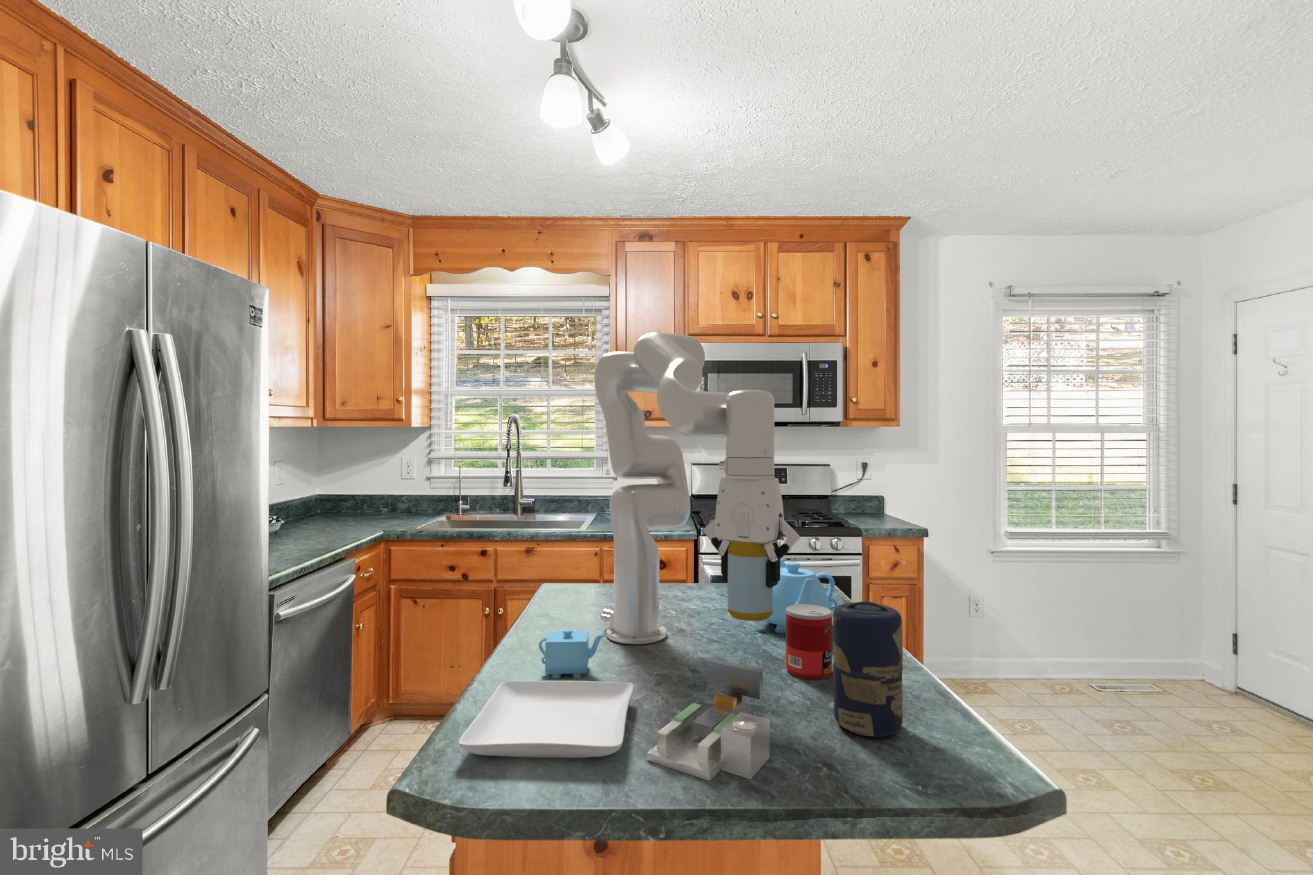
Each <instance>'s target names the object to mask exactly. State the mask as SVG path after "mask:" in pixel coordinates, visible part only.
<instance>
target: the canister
mask: <svg viewBox="0 0 1313 875" xmlns="http://www.w3.org/2000/svg"><path fill="white" fill-rule="evenodd" d="M832 614H833V615H832V652H833V661H832V670H833V671H832V672H833V676H832V677H833V678H832V679H833V680H832V681H833V683H832V684H833V685H832V686H833V716H834V719H835V720H836V722H837V723H838V724H839V725H840V726H841V727H842V728H844V729H846V730H848V731H850V732H851V733H854V734H857V735H861V736H865V737H866V736H867V737H874V738H875V737H886V736H891V735H894V734H895V733H897V732H899V731H900V730H901V727H902V726H903V712H904V711H903V709H904V708H903V671H904V668H903V667H904V666H903V665H904V664H903V659H904V658H903V653H904V652H903V650H904V649H903V644H904V643H903V620H902V618H903V617H902V616H901V613H900V612H899V611H898V610H897V609H895V608H892V606H888V605H886V604H881V603H877V602H873V601H869V600H863V601H856V602H855V601H854V602H846V603H842V604H840V605H839V604H838V607H836V608H835V610H833V613H832Z"/></svg>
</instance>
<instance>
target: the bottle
mask: <svg viewBox="0 0 1313 875" xmlns="http://www.w3.org/2000/svg"><path fill="white" fill-rule="evenodd" d="M734 524H735V534H736V535H737V536H738V537H735V541H733V542H732V541H731V542H730V544H729V547H728V581H727V613H729V615H730V616H731V618H734V619H736V620H740V621H746V622H760V621H766V620H765V619H768V618H769V617H770V616H771V615H772V613H773V587H772V588H768V587H767V586H766V562H767V561H769V556H768V554H767V552H766V549H765V547H764V544H755V543H752V542H751V538H748V537H750V525H752V524H750V522H742V521H736V522H735V523H734Z"/></svg>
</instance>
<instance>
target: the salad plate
mask: <svg viewBox="0 0 1313 875" xmlns="http://www.w3.org/2000/svg"><path fill="white" fill-rule="evenodd" d="M634 688H635V686H634V684H633V683H632V682H622V681H621V682H620V681H619V682H618V681H597V680H596V681H592V680H591V681H590V680H589V681H588V680H506V681H502V682H501V683H500V684H499V685H497V688H496V689H495V690H494V692H493V693H492V694H491V696H490V697H489V699H488V700H487V702H486V703H485V705H483V707H482V709H481V710H480V711H479V713H478V714H477V715H476V716H475V718H474V719H473V721H472V722H471V723H470V724H469V726H467V728H466V730H465V731H464V732H463V733H462V734H461V735H460V737H459V739H458V745H459V747H460V748H461V749H462V750H464V751H466V752H468V753H471V754H474V755H479V756H496V757H503V758H504V757H505V758H506V757H507V758H508V757H510V758H513V757H514V758H545V759H547V758H549V759H551V758H552V759H553V758H554V759H556V758H557V759H559V758H560V759H561V758H562V759H567V758H568V759H584V758H585V759H586V758H587V759H588V758H596V757H597V758H599V757H605V756H606V757H607V756H609V755H612V754H614V753H616V752H618V751H619V750H620V749H621V748H622V746H623V744H624V739H625V731H626V730H625V729H626V723H627V722H626V721H627V720H626V719H627V714H628V709H629V704H630V702H631V699H632V695H633V693H634Z"/></svg>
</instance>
